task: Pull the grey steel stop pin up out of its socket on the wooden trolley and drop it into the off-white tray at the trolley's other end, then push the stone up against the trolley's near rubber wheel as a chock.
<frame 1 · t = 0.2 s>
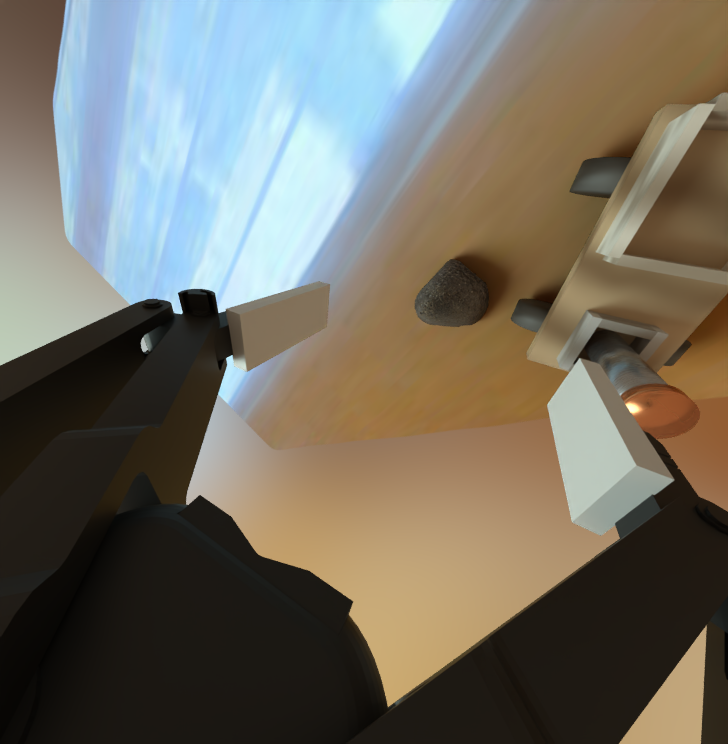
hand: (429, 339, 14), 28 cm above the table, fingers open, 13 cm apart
pin: (602, 343, 27), point 8 cm above the table, touching cart
cart: (620, 264, 30), on the table
stone: (453, 296, 40), on the table
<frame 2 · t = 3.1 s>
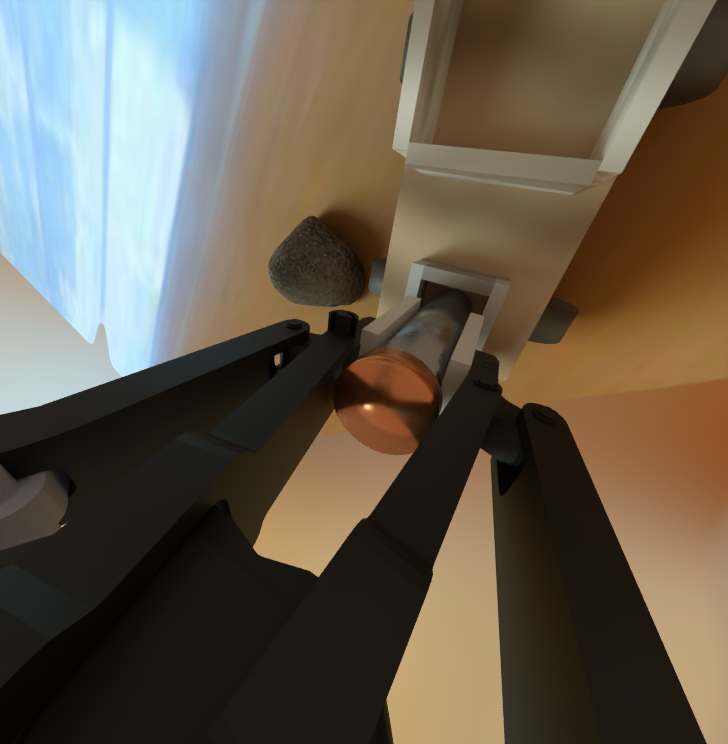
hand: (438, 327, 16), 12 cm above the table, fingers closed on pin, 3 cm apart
pin: (450, 309, 19), point 8 cm above the table, touching cart, gripper
cart: (494, 203, 21), on the table
stone: (329, 268, 31), on the table
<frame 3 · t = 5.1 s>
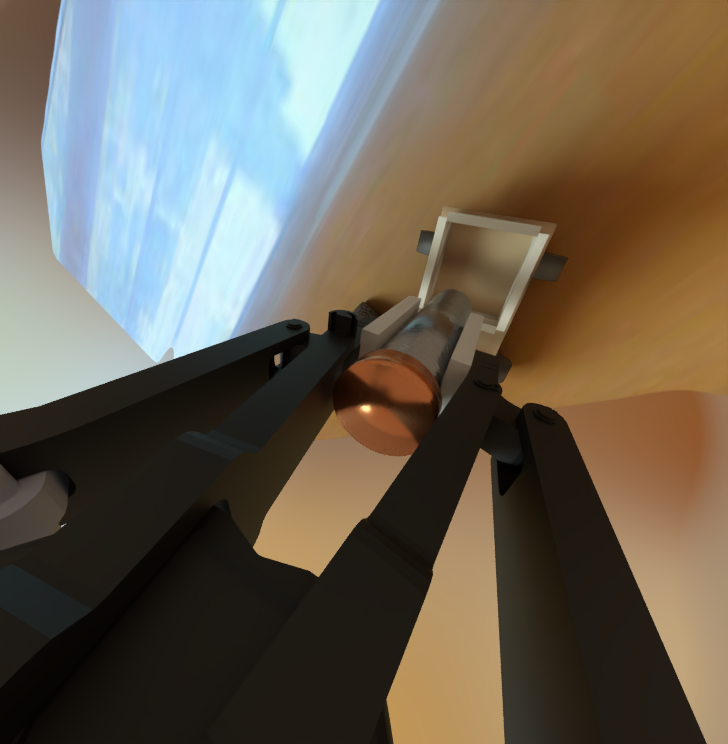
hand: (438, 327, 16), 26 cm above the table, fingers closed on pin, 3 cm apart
pin: (449, 310, 19), point 22 cm above the table, touching gripper
cart: (467, 303, 38), on the table
stone: (371, 330, 48), on the table
when the fingers open (14 cm above the table, at t = 6.9 s): pin drops 1 cm, resting on cart.
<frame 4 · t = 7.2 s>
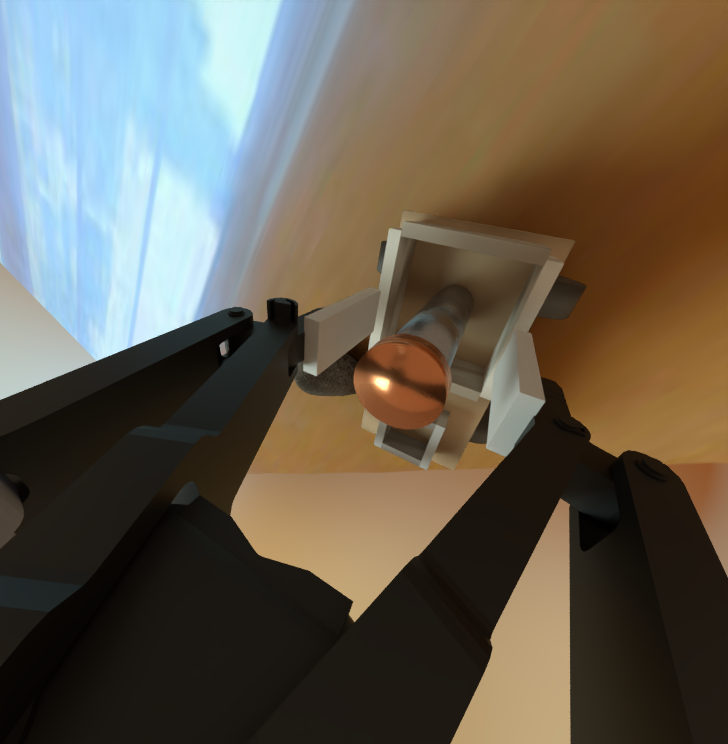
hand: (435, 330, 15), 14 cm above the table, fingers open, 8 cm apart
pin: (452, 304, 20), point 8 cm above the table, touching cart
cart: (449, 334, 29), on the table
stone: (340, 363, 39), on the table
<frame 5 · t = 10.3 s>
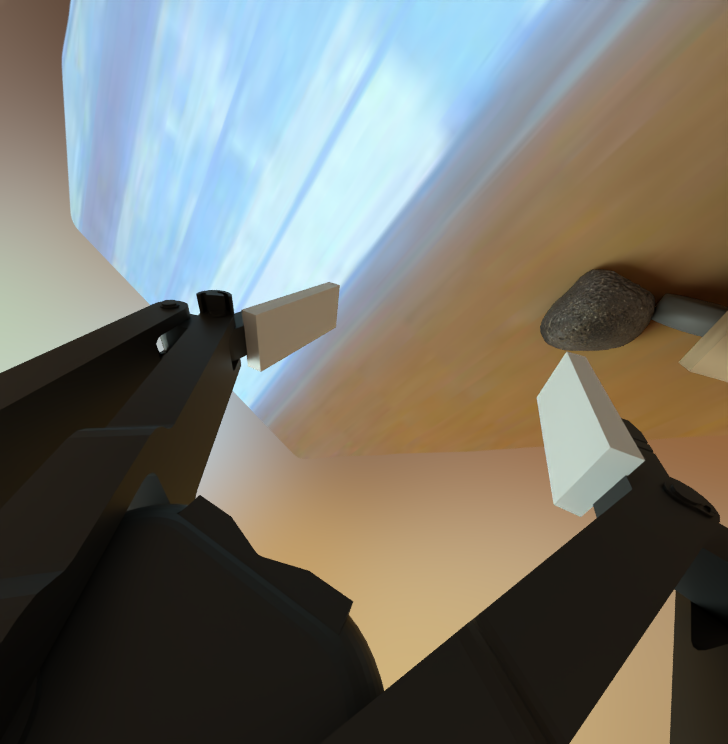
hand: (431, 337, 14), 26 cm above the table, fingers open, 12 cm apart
stone: (587, 313, 32), on the table
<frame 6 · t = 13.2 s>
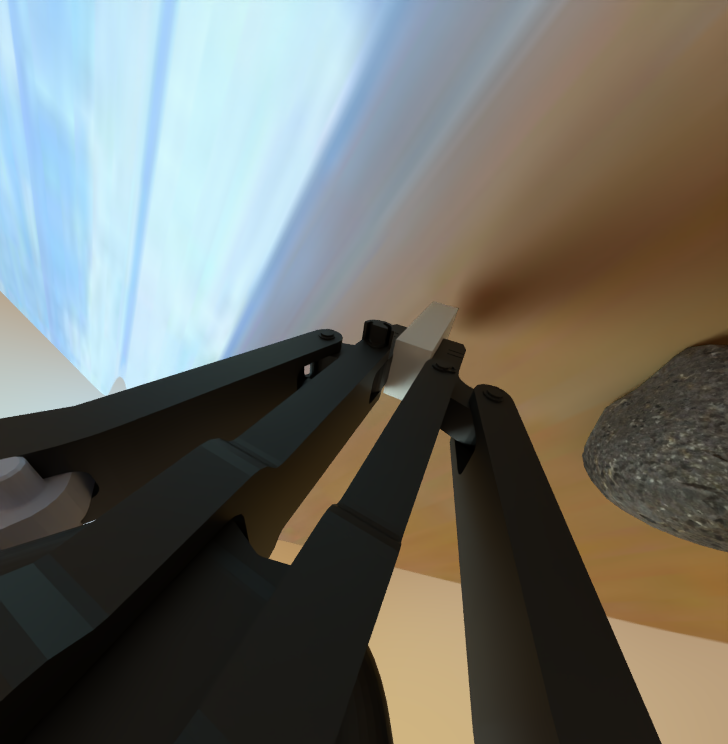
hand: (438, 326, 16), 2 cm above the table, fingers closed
stone: (687, 424, 15), on the table
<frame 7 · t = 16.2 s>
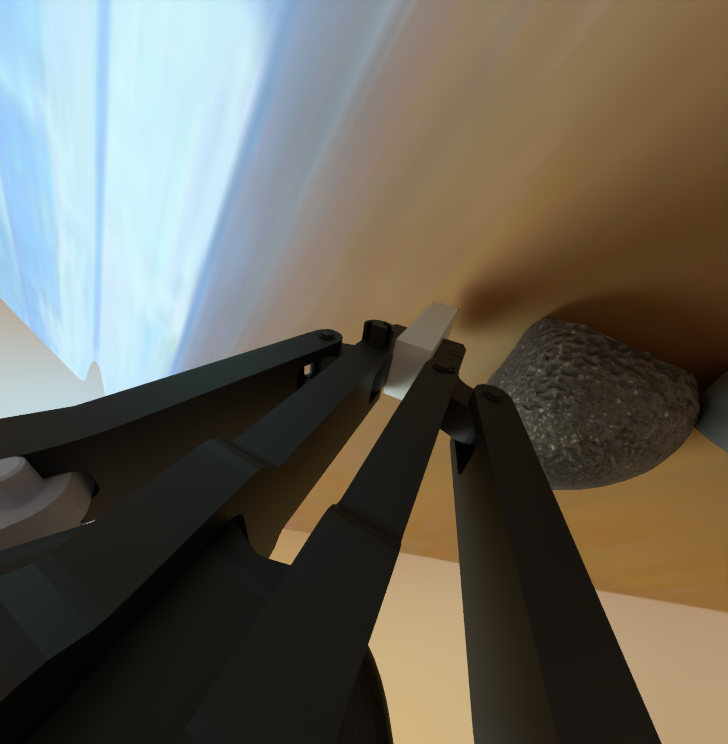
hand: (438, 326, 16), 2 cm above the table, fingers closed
stone: (557, 392, 17), on the table, touching cart
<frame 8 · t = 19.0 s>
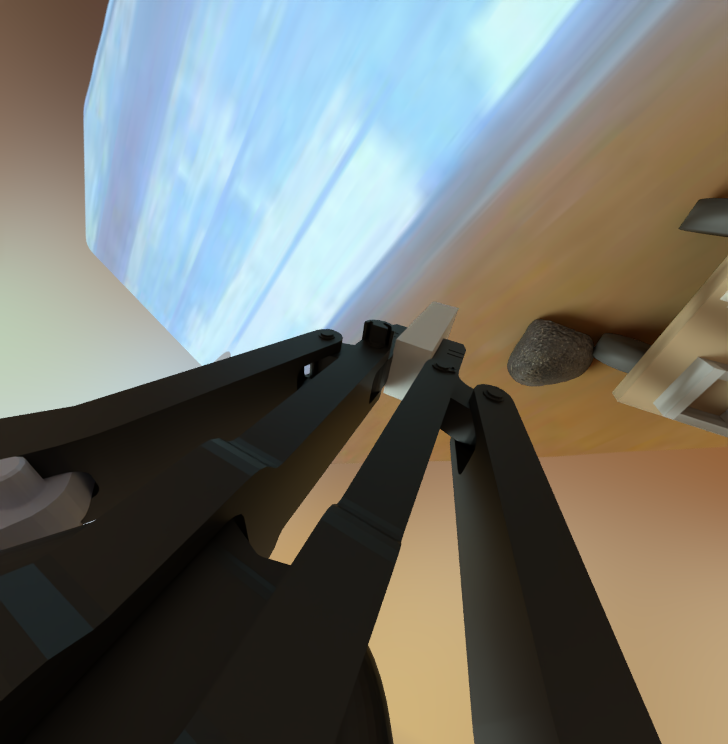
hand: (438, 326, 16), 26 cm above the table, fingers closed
cart: (722, 303, 28), on the table
stone: (545, 350, 38), on the table
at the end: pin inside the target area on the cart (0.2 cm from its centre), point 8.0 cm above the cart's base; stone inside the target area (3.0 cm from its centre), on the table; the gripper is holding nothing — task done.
